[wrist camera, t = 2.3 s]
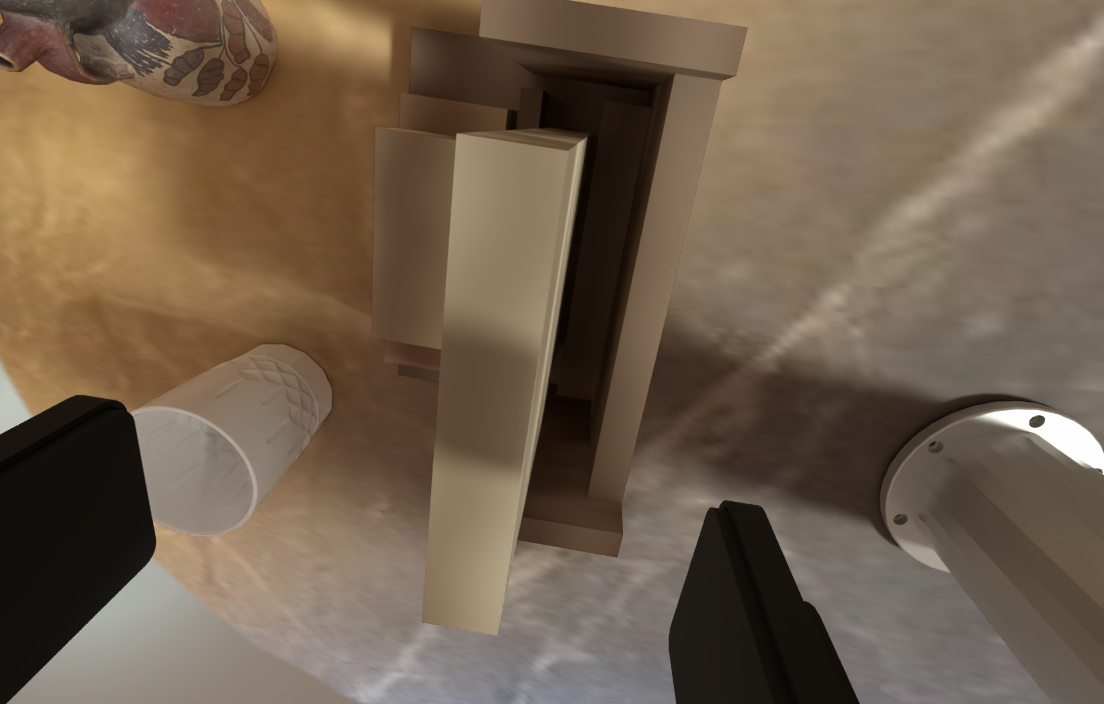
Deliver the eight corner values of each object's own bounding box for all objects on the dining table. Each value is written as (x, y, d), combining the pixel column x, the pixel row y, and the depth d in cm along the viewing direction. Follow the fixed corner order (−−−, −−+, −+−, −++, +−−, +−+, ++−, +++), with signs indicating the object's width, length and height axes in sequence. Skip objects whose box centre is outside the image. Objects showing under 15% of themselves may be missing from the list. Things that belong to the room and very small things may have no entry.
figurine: (286, -19, 28) (79, -112, 17) (271, 125, 31) (85, 125, 20) (148, -67, 28) (-152, -193, 17) (146, 83, 31) (-113, 60, 20)
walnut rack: (681, 72, 28) (747, 27, 15) (612, 400, 35) (617, 557, 23) (421, 31, 28) (269, -45, 16) (406, 364, 36) (294, 500, 23)
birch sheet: (591, 133, 28) (567, 151, 10) (557, 348, 33) (497, 635, 14) (552, 127, 28) (456, 133, 10) (523, 343, 33) (421, 622, 14)
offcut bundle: (516, 110, 28) (488, 106, 21) (491, 345, 33) (461, 403, 26) (420, 95, 28) (360, 86, 21) (409, 331, 33) (358, 386, 26)
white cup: (206, 380, 38) (77, 463, 28) (274, 310, 35) (158, 376, 26) (294, 458, 39) (200, 560, 30) (366, 396, 37) (287, 487, 28)
